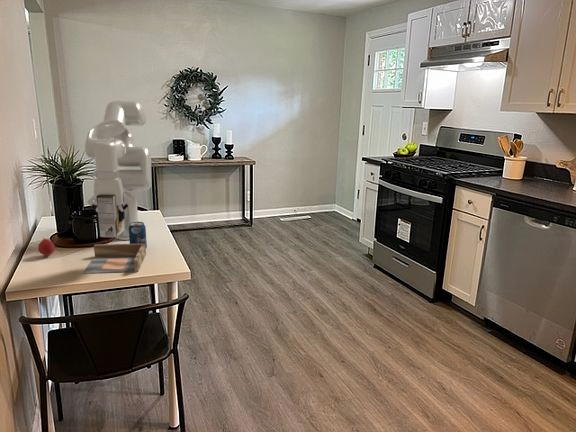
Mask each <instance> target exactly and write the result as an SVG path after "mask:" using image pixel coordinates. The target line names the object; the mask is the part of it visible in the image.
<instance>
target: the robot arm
mask: <svg viewBox="0 0 576 432" xmlns="http://www.w3.org/2000/svg"><path fill="white" fill-rule="evenodd" d="M104 112H105V113H104V116H103V121H102V122H99V123H97V125H94V126H93V127H92V128H91V129H89V131H88V133H87V135H86V137H85V138H86V139H85V142H84V143H85V144H84V151H85V155H86V156H87V157H88V158H90V159H94V161H95V171H92V174H91V175H92V176H94V177H95V178H94V180H93V196H91V198H89V199H88V200H87V201H86V202H87V204H88V205H89V206H90V207H91V208H92V209H93V210H94V211H95V213H96V215H97V216H96V217H97V220H99V217H98V207H97V197H96V196H97V195H115V196H116V205H117V206H118V208H119V209H120V212H119V217H120V222H122V221H123V219H124V231H123V232H122V233H121V234H120V235H119V236H117V237H115V238H114V239H116V240H120V241H129V226H130V223H132V222H139V217H138V216H139V214H138V213H139V212H138V204H137V202H138V201H137V198H136V196H135V194H133V192H131V191H148V190H150V189H151V187H152V183H153V182H152V158H151V156H152V154H151V151H150V150H149V148H147V146H135V145H134V144H135V143H134V142H135V141H134V135H133V133H132V132H131V131H130V130H129V128H127V127H126V126H129V127H130V126H133V127H134V126H135V127H137V126H139V127H140V126H144V125H145V124H146V122H147V111H146V110H145V108H144V106H143V105H142V104H141V103H140V102H138V101H131V100H113V101H110V102H109V103H107V105H106V108H105V111H104ZM119 168H140V169H119Z"/></svg>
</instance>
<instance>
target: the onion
mask: <svg viewBox="0 0 576 432" xmlns="http://www.w3.org/2000/svg"><path fill="white" fill-rule="evenodd" d="M37 249H38V252H39V253H40V254H41V255H43V256H44V257H46V258H47V257H50V256H51V255H52V254H53V253H54V251H55V244H54V243H53V242H52V240H49V239H47V238H46V237H43V238H42V241H40V242H39V244H38V246H37Z"/></svg>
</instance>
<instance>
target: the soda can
mask: <svg viewBox="0 0 576 432" xmlns="http://www.w3.org/2000/svg"><path fill="white" fill-rule="evenodd" d="M128 242H129V244H145V248H146V249H147V248H148V245H147V243H148V242H147V227H146V225H145V223H144V222H143V221H138V222H132V223H130V226H129V240H128Z"/></svg>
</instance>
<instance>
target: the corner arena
mask: <svg viewBox="0 0 576 432" xmlns="http://www.w3.org/2000/svg"><path fill="white" fill-rule="evenodd" d="M93 250H94V251H93V252H94V257H93V258H92V259H91V261H90V262H89V264H88V265H87V266H86V267H85V268H84V270H83V272H82V273H81V274H84V275H85V274H112V273H113V274H114V273H115V274H116V273H138V272H139V271H140V269H141V267H142V264H143V262H144V260H145V258H146V256H147V252H146V251H147V248H145V244H130V243H111V244H109V243H108V244H94V245H93Z"/></svg>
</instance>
